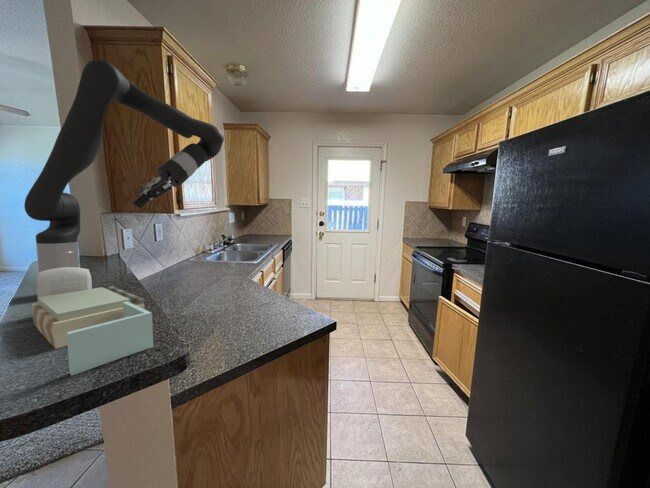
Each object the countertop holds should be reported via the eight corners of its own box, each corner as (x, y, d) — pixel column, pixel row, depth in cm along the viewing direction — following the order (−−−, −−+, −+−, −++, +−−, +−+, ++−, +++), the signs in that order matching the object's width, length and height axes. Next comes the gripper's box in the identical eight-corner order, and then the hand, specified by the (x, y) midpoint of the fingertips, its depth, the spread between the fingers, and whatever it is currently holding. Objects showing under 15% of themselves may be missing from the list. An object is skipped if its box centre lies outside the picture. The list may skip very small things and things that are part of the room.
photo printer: (94, 308, 73) (91, 264, 72) (91, 312, 70) (88, 267, 69) (42, 314, 68) (38, 267, 66) (36, 320, 64) (32, 270, 63)
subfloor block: (33, 324, 61) (31, 299, 61) (113, 307, 74) (112, 286, 73) (55, 349, 50) (53, 317, 50) (145, 323, 63) (144, 298, 62)
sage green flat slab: (37, 303, 61) (37, 297, 61) (102, 292, 71) (102, 287, 71) (58, 321, 51) (57, 313, 51) (130, 305, 61) (129, 299, 61)
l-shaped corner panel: (129, 333, 59) (127, 301, 58) (153, 349, 52) (151, 312, 51) (53, 356, 49) (50, 317, 48) (71, 378, 42) (68, 334, 41)
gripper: (159, 161, 84) (114, 196, 75) (180, 156, 77) (133, 194, 68) (176, 180, 89) (136, 215, 80) (198, 177, 82) (156, 215, 73)
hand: (135, 205), depth 74 cm, fingers closed
